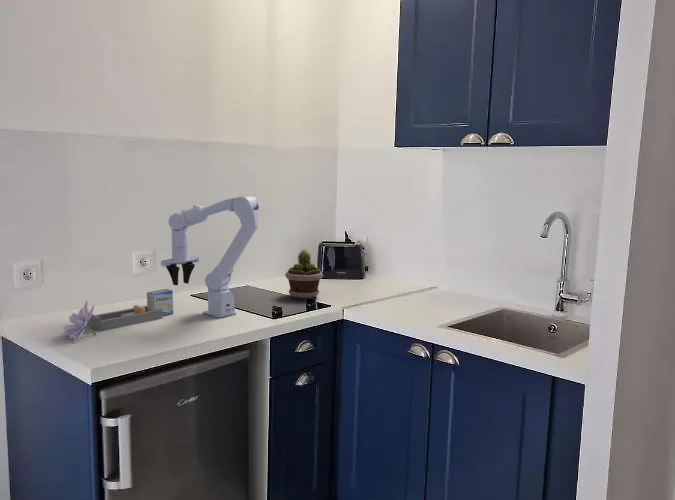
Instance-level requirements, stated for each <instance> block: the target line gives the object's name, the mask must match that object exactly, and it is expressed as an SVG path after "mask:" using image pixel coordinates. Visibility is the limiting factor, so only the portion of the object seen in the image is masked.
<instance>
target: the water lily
mask: <svg viewBox="0 0 675 500" xmlns="http://www.w3.org/2000/svg"><path fill="white" fill-rule="evenodd" d="M94 309H95V305H94V304H93V305H92V307H91V308H90V310H89V304H88V300H86V301H85V303H84V305H83V307H81V309H79V311H78V314H77V313H74V312H73V313H72V314H71V315H70V316H69V318H68V319H69V321H70V323H72V324H68V325H65V326H64V327H62V328H63V329H65V330H64V331H63V332H62V333H60V334H59V337H67V336H70V337H69V339H71V338H73V337H74V339H73V342H72V343H73V344H76V343H77V342H78V341H79V339H80V338H81V337H82V336H83V334H84V331H85V329H87V330H88V331H89V332H90V333H92V335H93V336H96V335H97V333H96V331H95V330H93V329H91V328H89V327H88V326H87V322H88V321H89V319H90V317H91V315H92V314H93V312H94Z"/></svg>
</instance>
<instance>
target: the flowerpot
mask: <svg viewBox="0 0 675 500" xmlns="http://www.w3.org/2000/svg"><path fill="white" fill-rule="evenodd" d="M296 257H297V258H296V260H297V262H296V263H293V266H291V267H290V268H289V269H288V270H287V271H286V272H285V274H284V277H285V278H286V279H287V280H288V284H289V289H288V293H289V295H290V297H291V298H292V299H295V300H299V301H303V300H305V301H308V300H307V299H309V300H310V299H311V300H315V299H316V298H317V296H319V294H320V290H319V285H320V280H322V279H323V277H324V274H323V272H322V271H321V269H320V267H316V265H315V263H313V262H312V259H311V257H312V256H311V253H310V252H308V250H307V249H300V251H299V253H298V254H297V256H296Z"/></svg>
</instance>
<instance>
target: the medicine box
mask: <svg viewBox="0 0 675 500" xmlns="http://www.w3.org/2000/svg"><path fill="white" fill-rule="evenodd" d="M146 306H147V312H149V311H154V310H159V309H161V310H162V317H165V316H170V315H173V314H174V291H173V289H169V288H168V289H167V288H165V289H159V290H154V291H153V290H152V291H148V292H146Z"/></svg>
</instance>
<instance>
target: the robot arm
mask: <svg viewBox="0 0 675 500" xmlns="http://www.w3.org/2000/svg"><path fill="white" fill-rule="evenodd" d="M260 208H261V207H260V204H259V202H258V199H257V198H256V197H255V196H253V195H250V194H247V195H244V196H241V195H240V196H237V197H232V198H226V199H223V200H221V201H218V202H215V203H213V204H211V205H209V206H206V207H205V206H203V205H198V204H195V205H193V206H192V208H189V209H186V210H185V209H182V210H181V211H180V212H175V213H173V214H172V215H170V216H169V218H168V225H169V227H170V228H171V258H168V259H163V260H160V266H161V267H165V268H166V269H167V271H168V273H169V275H170V279H171V281H172V285H174V286H178V285H179V272H180V266H178V265H181V269H182V278H183V279H182V280H183V284H187V285H188V284H189V281H190V279H191V278H190V277H191V275H192V273H193V270H194V268H195V265H196V264H195V263H200V257H199V256H190V255H189V227H191V226H194V225H197V224H201V223H204V222H205V221H207V220H208V218H209V216H213V215H216V214H218V213H221V212H225V211H229V212H232V213H233V212H234V214H235V216H237V218H239V222H240V224H241V226H240V228H239V230H238V231H237V233H236V234H235V237H234V238H233V240H231V241H232V242H231V243H230V245H229V246H228V248H227V250H226V251H225V253H224V254H223V256H222V258H221V259H220V261H219V263H218V264H217V265H216V266H215V267H213V269H212V271H211V272H209V273H208V274H207V275H206V276H205V278H204V284H205V286H206V287H207V310H204V311H202V313H203V314H207V315H209V316H212V317H215V318H223V317H227V316H232V315H237V312H235V310H236V309H235V306H236V305H235V295H234V293H233V292H231V291H230V289H229V283H230V282H231V279H232V274H233V271H234V267H235V265H236V264H237V262H238V260H239V258H240V257H241V256H242V254H243V252H244V251H245V249H246V247H247V246H248V244H249V243H250V241H251V239H252V238H253V236H254V234H255V232H256V231H257V229H258V227H259V211H260Z"/></svg>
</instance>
